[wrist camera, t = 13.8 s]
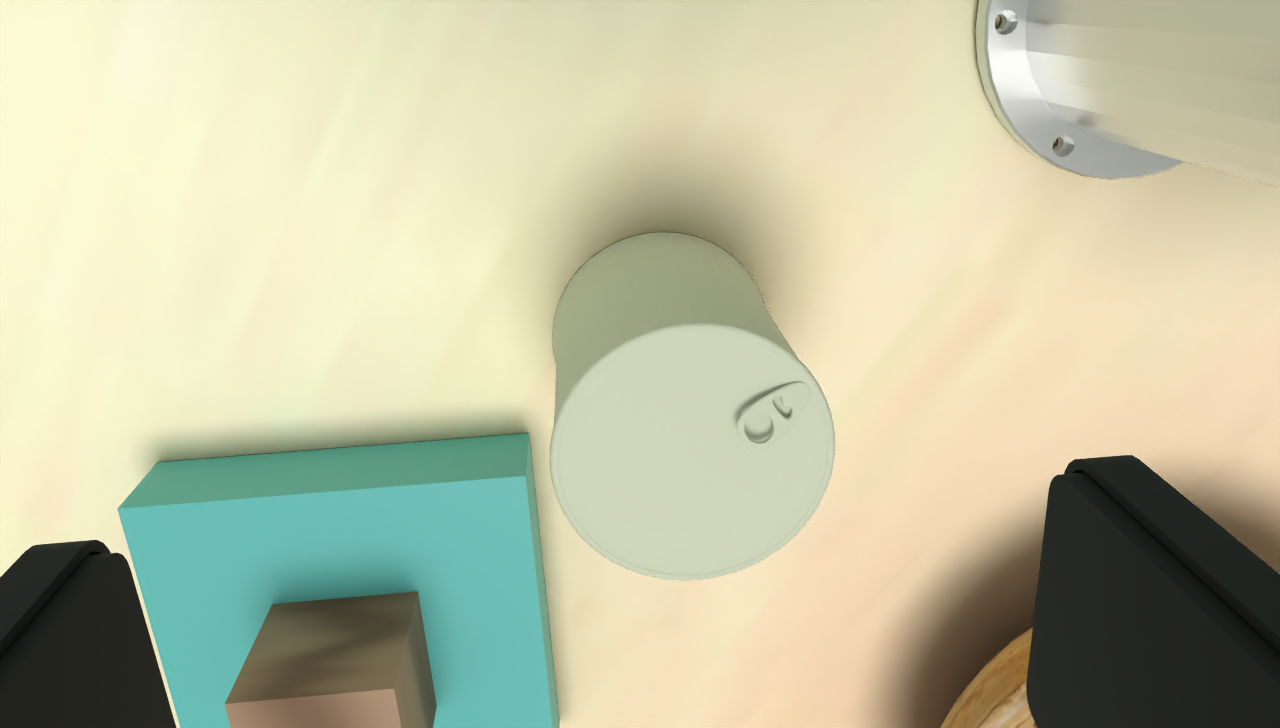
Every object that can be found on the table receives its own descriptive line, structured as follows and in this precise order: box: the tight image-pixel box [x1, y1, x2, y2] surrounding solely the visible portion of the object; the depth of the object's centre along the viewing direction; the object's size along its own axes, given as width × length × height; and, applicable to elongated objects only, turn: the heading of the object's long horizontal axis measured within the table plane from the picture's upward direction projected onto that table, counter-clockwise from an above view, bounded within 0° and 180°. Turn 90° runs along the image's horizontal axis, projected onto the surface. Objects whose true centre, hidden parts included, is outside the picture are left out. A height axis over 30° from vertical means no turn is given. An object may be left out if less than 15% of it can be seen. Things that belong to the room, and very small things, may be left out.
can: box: [550, 232, 835, 580], centre depth 36 cm, size 9×9×12 cm
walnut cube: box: [225, 591, 437, 728], centre depth 38 cm, size 6×6×6 cm
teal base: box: [118, 433, 559, 728], centre depth 43 cm, size 16×16×4 cm
